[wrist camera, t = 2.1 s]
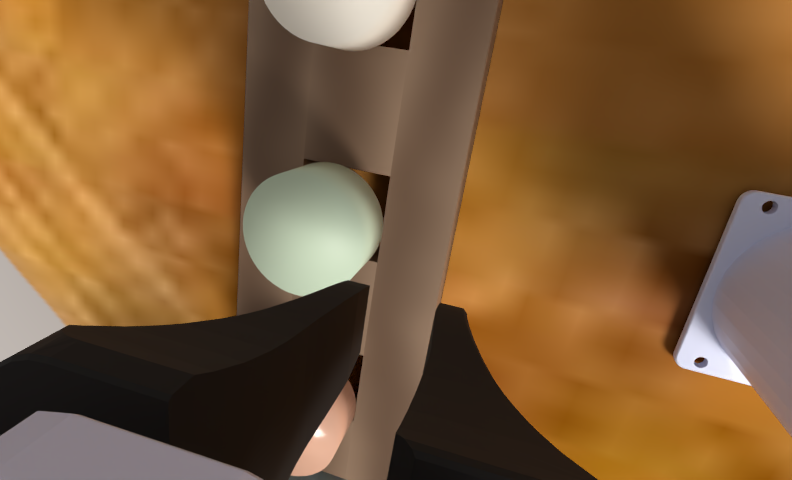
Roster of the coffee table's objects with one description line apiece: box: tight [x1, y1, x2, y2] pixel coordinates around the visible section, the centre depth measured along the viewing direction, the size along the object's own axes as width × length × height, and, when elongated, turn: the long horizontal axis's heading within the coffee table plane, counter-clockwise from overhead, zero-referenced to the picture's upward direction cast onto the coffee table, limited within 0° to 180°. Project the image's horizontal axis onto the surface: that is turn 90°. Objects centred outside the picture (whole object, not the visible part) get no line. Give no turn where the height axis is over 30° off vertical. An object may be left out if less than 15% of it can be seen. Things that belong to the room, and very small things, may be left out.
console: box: [237, 0, 503, 480], centre depth 21 cm, size 10×30×2 cm, turn 171°
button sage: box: [243, 162, 383, 296], centre depth 19 cm, size 5×5×4 cm
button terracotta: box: [291, 380, 356, 476], centre depth 22 cm, size 5×5×4 cm
